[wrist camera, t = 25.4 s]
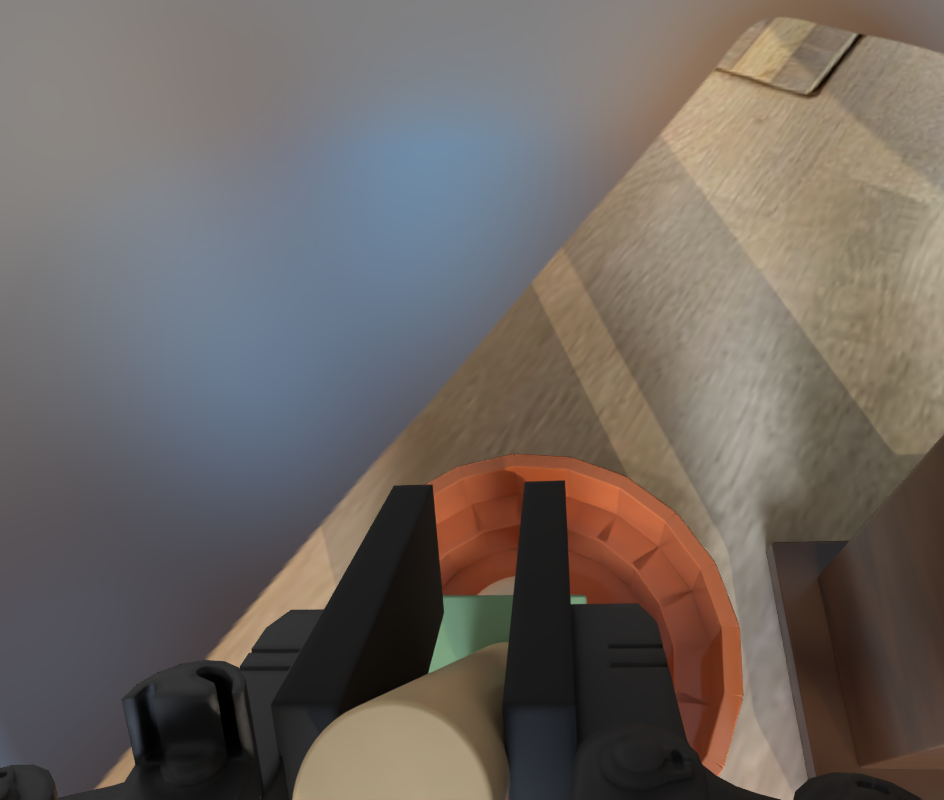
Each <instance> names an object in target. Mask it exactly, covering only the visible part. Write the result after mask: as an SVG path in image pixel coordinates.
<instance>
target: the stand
mask: <svg viewBox="0 0 944 800" xmlns="http://www.w3.org/2000/svg"><path fill="white" fill-rule="evenodd" d="M766 553H767V558H768V564H769V569H770V574H771V580H772V585H773V591H774V596H775V601H776V607H777V612H778V618H779V623H780V628H781V634H782V639H783V645H784V650H785V655H786V661H787V666H788V672H789V677H790V682H791V688H792V693H793V699H794V704H795V709H796V715H797V720H798V726H799V731H800V736H801V742H802V747H803V753H804V758H805V763H806V769H807V774H808V780H809V779H810V778H813V777H817V776H820V775H824V774H828V773H831V772H843V773H862V774H865V775H869V776H872V777H876V778H879V779H882V780H886V781H889V782H892V783H894V784H896V785H898V786H900V787H901V788H903V789H905V790H907V791H909V792H911V793H912V794H914V795H916V796H918V797H920V798H921V799H922V800H944V435H943V436H942V437H941V438H940V439H939V440H938V442H937V443H936V444H935V445H934V446H933V447H932V448H931V449H930V451H929V452H928V453H927V454H926V455H925V456H924V457H923V458H922V460H921V461H920V462H919V463H918V464H917V465H916V466H915V468H914V469H913V470H912V471H911V472H910V473H909V474H908V475H907V477H906V478H905V479H904V480H903V481H902V482H901V483H900V485H899V486H898V487H897V488H896V489H895V490H894V491H893V492H892V494H891V495H890V496H889V497H888V498H887V499H886V500H885V501H884V503H883V504H882V505H881V506H880V507H879V508H878V509H877V511H876V512H875V513H874V514H873V515H872V516H871V517H870V518H869V520H868V521H867V522H866V523H865V524H864V525H863V526H862V528H861V529H860V530H859V531H858V532H857V533H856V534H855V535H854V537H853V538H852V539H851V540H850V541H813V542H773V543H772V544H771V545H770V547H769V548H768V550H767V552H766Z"/></svg>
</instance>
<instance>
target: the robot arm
mask: <svg viewBox="0 0 944 800" xmlns="http://www.w3.org/2000/svg"><path fill="white" fill-rule="evenodd" d="M443 615H444V604H443V593H442V582H441V571H440V560H439V549H438V538H437V527H436V516H435V505H434V494H433V485H402V486H394V487H393V488H392V490H391V492H390V494H389V495H388V497H387V499H386V501H385V503H384V504H383V506H382V508H381V510H380V511H379V513H378V515H377V517H376V518H375V520H374V522H373V524H372V526H371V527H370V529H369V531H368V533H367V534H366V536H365V538H364V540H363V542H362V543H361V545H360V547H359V549H358V550H357V552H356V554H355V556H354V558H353V559H352V561H351V563H350V565H349V566H348V568H347V570H346V572H345V574H344V575H343V577H342V579H341V581H340V582H339V584H338V586H337V588H336V589H335V591H334V593H333V595H332V597H331V598H330V600H329V602H328V604H327V605H326V607H325V609H324V610H290V611H289V612H287V613H286V614H285V615H283V616H282V617H280V618H279V619H278V620H276V621H275V622H274V623H272V624H271V625H269V626H268V627H267V628H266V629H265V630H264V632H263V633H262V635H261V636H260V638H259V639H258V641H257V642H256V643H255V645H254V646H253V648H252V653H249V654H248V655H247V657H246V658H245V660H244V661H243V663H242V664H241V666H240V669H239V668H238V667H236V666H234V665H232V664H229V663H227V662H225V661H211V660H202V661H196V662H190V663H184V664H179V665H177V666H174V667H171V668H168V669H166V670H163V671H160V672H157V673H156V674H154V675H152V676H151V677H149V678H147V679H145V680H144V681H142V682H140V683H139V684H137V685H136V686H135V687H134V688H133V689H132V690H131V691H130V692H129V693H128V694H127V695H126V696H124V698H122V703H123V708H124V713H125V718H126V723H127V727H128V732H129V737H130V741H131V746H132V751H133V755H134V760H135V766H134V768H133V769H132V771H131V773H130V774H129V776H128V777H127V779H126V781H125V782H123V783H120V784H117V785H113V786H109V787H105V788H100V789H96V790H91V791H87V792H83V793H78V794H74V795H69V796H65V797H60V798H58V794H57V790H56V786H55V783H54V780H53V778H52V776H51V774H50V772H49V771H48V770H46V769H43V768H41V767H38V766H36V765H11V766H7V767H3V768H0V800H292V798H293V791H294V786H295V782H296V778H297V775H298V772H299V769H300V767H301V764H302V762H303V760H304V758H305V756H306V754H307V752H308V750H309V749H310V747H311V746H312V744H313V743H314V741H315V740H316V739H317V737H318V736H319V735H320V734H321V733H322V731H323V730H324V729H325V728H326V727H327V726H328V725H330V724H331V723H332V722H333V721H334V720H335V719H337V718H338V717H340V716H341V715H342V714H344V713H345V712H347V711H349V710H351V709H353V708H355V707H357V706H359V705H361V704H363V703H366V702H368V701H370V700H372V699H374V698H376V697H379V696H381V695H383V694H385V693H387V692H389V691H392V690H394V689H396V688H398V687H400V686H403V685H405V684H407V683H409V682H411V681H413V680H416V679H418V678H420V677H422V676H424V675H426V674H428V672H429V668H430V664H431V661H432V657H433V653H434V649H435V646H436V642H437V638H438V634H439V630H440V627H441V623H442V619H443ZM502 709H503V723H504V737H505V751H506V755H507V758H508V762H509V770H510V787H509V800H780V799H776V798H772V797H768V796H765V795H761V794H757V793H754V792H751V791H748V790H745V789H742V788H739V787H737V786H734V785H733V784H731V783H729V782H727V781H725V780H723V779H721V778H720V777H718V776H716V775H715V774H714V773H713V772H711V771H710V770H709V769H708V768H706V767H705V766H704V765H703V764H702V762H701V760H700V757H699V755H698V753H697V752H696V751H695V750H694V749H693V748H692V747H691V746H690V745H689V743H688V741H687V738H686V734H685V730H684V726H683V722H682V718H681V714H680V710H679V706H678V702H677V698H676V694H675V690H674V686H673V682H672V678H671V674H670V670H669V667H668V662H667V658H666V654H665V650H664V648H663V643H662V639H661V635H660V631H659V627H658V623H657V621H656V620H655V619H654V618H653V617H652V616H651V615H650V614H649V613H648V612H647V611H646V610H645V609H644V608H643V607H642V606H641V605H640V604H639V603H618V604H571V597H570V576H569V554H568V533H567V511H566V489H565V480H559V481H527V482H525V483H524V493H523V503H522V513H521V523H520V533H519V543H518V553H517V563H516V573H515V583H514V593H513V603H512V613H511V623H510V633H509V643H508V653H507V663H506V673H505V683H504V693H503V703H502ZM794 800H922V799H921V798H920V797H918V796H916V795H914V794H912V793H911V792H909V791H907V790H905V789H903V788H901V787H900V786H898V785H896V784H894V783H892V782H889V781H886V780H882V779H879V778H876V777H872V776H869V775H865V774H862V773H843V772H831V773H828V774H824V775H820V776H817V777H813V778H810V779H809V780H808V781H807V782H805V783H804V784H803V785H802V786H801V787H800V788H799V789H798V790H796V791H795V796H794Z"/></svg>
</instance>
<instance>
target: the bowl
mask: <svg viewBox="0 0 944 800" xmlns="http://www.w3.org/2000/svg"><path fill="white" fill-rule="evenodd" d="M559 480H565V489H566V511H567V533H568V554H569V576H570V594H571V595H585V596H586V598H587V604H618V603H639V604H640V605H641V606H642V607H643V608H644V609H645V610H646V611H647V612H648V613H649V614H650V615H651V616H652V617H653V618H654V619H655V620H656V621H657V623H658V627H659V631H660V635H661V639H662V643H663V648H664V650H665V654H666V658H667V662H668V667H669V670H670V674H671V678H672V682H673V686H674V690H675V694H676V698H677V702H678V706H679V710H680V714H681V718H682V722H683V726H684V730H685V734H686V738H687V741H688V743H689V745H690V746H691V747H692V748H693V749H694V750H695V751H696V752H697V753H698V755H699V757H700V760H701V762H702V764H703V765H704V766H705V767H706V768H708V769H709V770H710V771H711V772H713V773H714V774H715V775H716V776H718V775H719V774H720V773H721V771H722V770H723V767H724V765H725V761H726V758H727V754H728V750H729V747H730V743H731V740H732V736H733V733H734V729H735V725H736V722H737V718H738V715H739V711H740V708H741V704H742V701H743V698H742V697H743V679H742V660H741V640H740V628H739V623H738V621H737V618H736V615H735V613H734V610H733V607H732V605H731V602H730V599H729V597H728V594H727V591H726V589H725V586H724V583H723V581H722V578H721V575H720V573H719V570H718V567H717V565H716V564H715V561H714V560H713V559H712V558H711V556H710V555H709V554H708V552H707V551H706V550H705V548H704V547H703V546H702V545H701V543H700V542H699V541H698V539H697V538H696V537H695V535H694V534H693V533H692V532H691V530H690V529H689V528H688V526H687V525H686V524H685V522H684V521H683V520H682V519H681V517H680V516H679V515H678V513H676V512H675V511H674V510H672V509H671V508H670V507H668V506H667V505H665V504H664V503H663V502H661V501H660V500H659V499H657V498H656V497H654V496H653V495H652V494H650V493H649V492H647V491H646V490H645V489H643V488H642V487H641V486H639V485H638V484H636V483H635V482H634V481H632V480H631V479H629V478H628V477H627V478H626V476H624V475H621V474H618V473H615V472H613V471H610V470H607V469H604V468H601V467H599V466H596V465H593V464H590V463H587V462H584V461H582V460H579V459H576V458H573V457H572V458H571V457H564V456H547V455H529V454H510V455H506V456H501V457H497V458H492V459H488V460H484V461H479V462H475V463H471V464H466V465H462V466H459V467H456V468H454V469H452V470H451V471H449V472H447V473H445V474H443V475H442V476H440V477H438V478H436V479H434V480H433V481H431V482H429V483H427V484H425V485H433V494H434V505H435V516H436V527H437V538H438V549H439V560H440V571H441V582H442V593H443V595H478V594H479V593H480V592H481V591H482V590H483V589H485V588H486V587H488V586H489V585H491V584H493V583H495V582H497V581H499V580H502V579H505V578H509V577H513V576H515V573H516V563H517V553H518V543H519V533H520V523H521V513H522V503H523V493H524V483H525V482H527V481H559ZM507 800H509V795H508V798H507Z"/></svg>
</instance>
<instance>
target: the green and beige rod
mask: <svg viewBox="0 0 944 800" xmlns="http://www.w3.org/2000/svg"><path fill="white" fill-rule="evenodd" d="M514 583H515V576H513V577H509V578H505V579H502V580H499V581H497V582H495V583H493V584H491V585H489V586H488V587H486V588H485V589H483V590H482V591H481V592H480V593H479V594H478V595H443V604H444V615H443V619H442V623H441V627H440V630H439V634H438V638H437V642H436V646H435V649H434V653H433V657H432V661H431V664H430V668H429V672H428V674H426V675H424V676H422V677H420V678H418V679H416V680H413V681H411V682H409V683H407V684H405V685H403V686H400V687H398V688H396V689H394V690H392V691H389V692H387V693H385V694H383V695H381V696H379V697H376V698H374V699H372V700H370V701H368V702H366V703H363V704H361V705H359V706H357V707H355V708H353V709H351V710H349V711H347V712H345V713H344V714H342V715H341V716H340V717H338V718H337V719H335V720H334V721H333V722H332V723H331V724H330V725H328V726H327V727H326V728H325V729H324V730H323V731H322V733H321V734H320V735H319V736H318V737H317V739H316V740H315V741H314V743H313V744H312V746H311V747H310V749H309V750H308V752H307V754H306V756H305V758H304V760H303V762H302V764H301V767H300V769H299V772H298V775H297V778H296V782H295V786H294V791H293V798H292V800H507V798H508V795H509V787H510V770H509V762H508V758H507V755H506V751H505V737H504V723H503V709H502V703H503V693H504V683H505V673H506V663H507V653H508V643H509V633H510V623H511V613H512V603H513V593H514ZM570 597H571V604H587V598H586V596H585V595H571V594H570Z"/></svg>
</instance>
